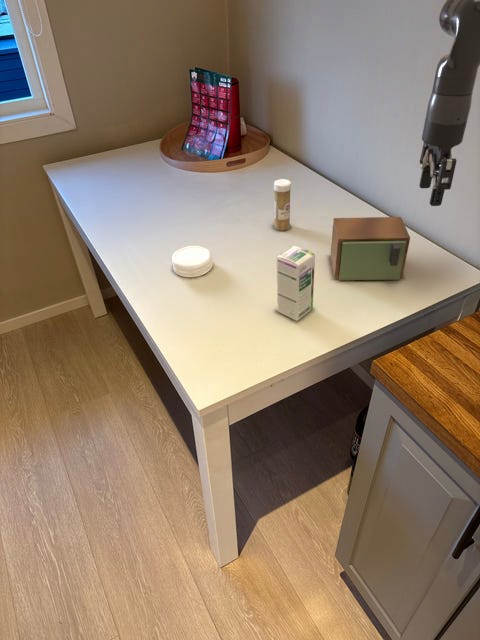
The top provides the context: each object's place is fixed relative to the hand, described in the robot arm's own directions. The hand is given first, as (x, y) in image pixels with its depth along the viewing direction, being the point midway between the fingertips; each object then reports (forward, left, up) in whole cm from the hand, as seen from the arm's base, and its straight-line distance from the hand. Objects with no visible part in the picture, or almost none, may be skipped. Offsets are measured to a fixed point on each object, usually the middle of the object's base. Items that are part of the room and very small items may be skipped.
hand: (429, 196), depth 102 cm
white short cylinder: (+53, -6, -21) cm, 58 cm away
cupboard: (+10, -5, -21) cm, 24 cm away
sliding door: (+10, +2, -20) cm, 23 cm away
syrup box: (+28, +12, -21) cm, 37 cm away
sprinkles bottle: (+30, -26, -21) cm, 45 cm away
